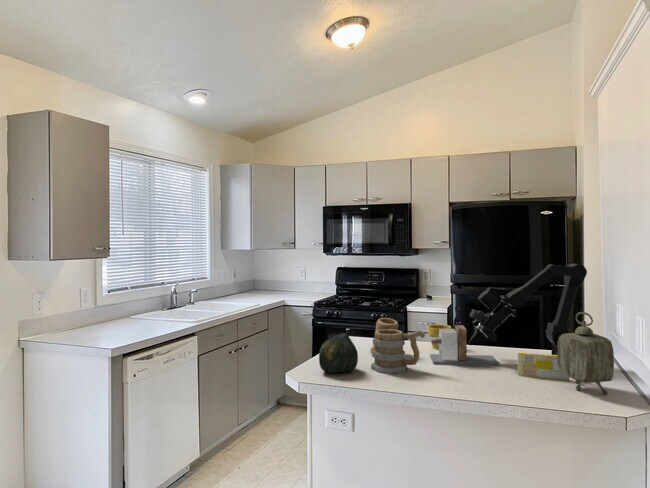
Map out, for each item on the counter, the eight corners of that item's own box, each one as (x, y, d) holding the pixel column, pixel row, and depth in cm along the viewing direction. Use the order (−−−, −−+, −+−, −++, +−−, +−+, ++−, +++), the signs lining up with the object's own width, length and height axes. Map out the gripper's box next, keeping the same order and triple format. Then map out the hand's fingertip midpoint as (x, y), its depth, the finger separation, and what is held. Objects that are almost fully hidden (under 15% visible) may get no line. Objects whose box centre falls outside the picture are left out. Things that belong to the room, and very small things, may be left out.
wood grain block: (462, 355, 183) (462, 325, 183) (466, 360, 175) (466, 329, 175) (430, 354, 185) (430, 324, 185) (432, 359, 177) (432, 328, 177)
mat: (492, 357, 184) (492, 355, 184) (499, 365, 172) (499, 363, 172) (430, 356, 187) (430, 354, 187) (433, 364, 175) (433, 361, 175)
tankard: (368, 371, 166) (368, 331, 166) (376, 362, 178) (376, 325, 178) (423, 376, 159) (422, 334, 159) (427, 367, 171) (427, 328, 171)
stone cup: (395, 358, 185) (395, 322, 185) (367, 356, 189) (367, 320, 189) (401, 350, 199) (401, 316, 199) (375, 348, 203) (375, 315, 203)
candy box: (568, 379, 155) (568, 355, 155) (569, 381, 153) (569, 357, 153) (517, 374, 162) (517, 351, 162) (517, 375, 160) (517, 352, 160)
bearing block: (454, 355, 184) (453, 328, 184) (457, 361, 175) (457, 333, 175) (439, 355, 185) (438, 328, 185) (441, 360, 176) (441, 333, 176)
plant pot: (426, 349, 199) (425, 327, 199) (429, 344, 209) (429, 323, 209) (450, 351, 195) (449, 329, 195) (452, 346, 205) (452, 325, 205)
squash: (305, 355, 169) (325, 329, 162) (332, 350, 179) (351, 325, 173) (325, 387, 161) (347, 360, 155) (352, 379, 172) (373, 354, 166)
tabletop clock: (614, 396, 137) (613, 315, 137) (589, 398, 135) (588, 316, 135) (578, 382, 151) (577, 308, 151) (555, 384, 150) (554, 309, 150)
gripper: (477, 299, 188) (450, 325, 189) (487, 305, 169) (457, 334, 171) (497, 318, 187) (470, 344, 188) (509, 326, 168) (479, 355, 170)
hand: (469, 344), depth 179 cm, fingers closed
